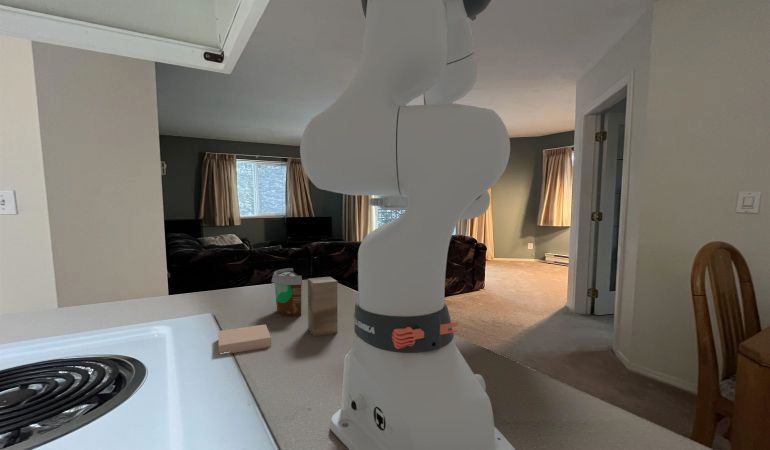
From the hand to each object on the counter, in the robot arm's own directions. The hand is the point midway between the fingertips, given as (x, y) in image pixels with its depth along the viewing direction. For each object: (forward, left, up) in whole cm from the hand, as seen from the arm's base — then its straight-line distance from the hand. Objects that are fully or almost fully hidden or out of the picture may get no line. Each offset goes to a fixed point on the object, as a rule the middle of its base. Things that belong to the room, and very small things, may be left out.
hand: (378, 201), depth 79 cm
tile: (0, +24, -27) cm, 36 cm away
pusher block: (0, +13, -28) cm, 31 cm away
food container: (+17, +18, -28) cm, 37 cm away
